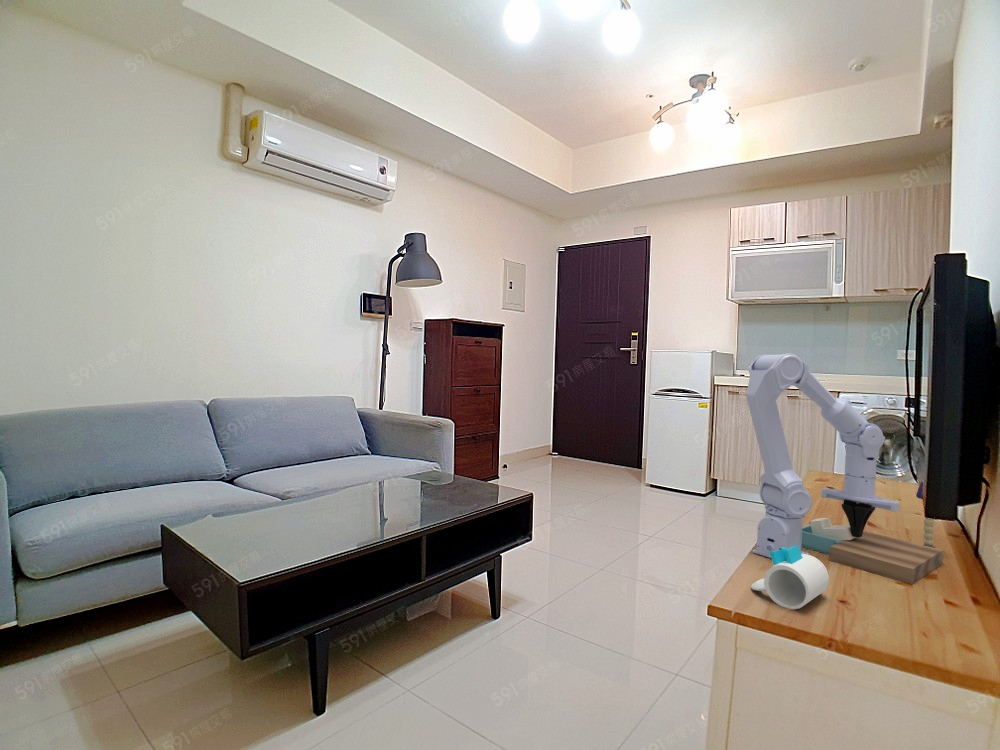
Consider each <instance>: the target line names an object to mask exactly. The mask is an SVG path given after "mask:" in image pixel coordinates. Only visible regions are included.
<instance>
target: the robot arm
mask: <svg viewBox="0 0 1000 750" xmlns="http://www.w3.org/2000/svg"><path fill="white" fill-rule="evenodd" d="M747 370H748V374H749V380H748V384H747V385H748V386H747V389H746V401H747V405H748V409H749V414H750V416H751V420H752V421H751V422H752V425H753V429H754V432H755V436H756V441H757V444H758V449H759V452H760V456H761V459H762V464H763V468H764V473H763V474H761V475H760V476H759V480H760V488H759V497H760V499H761V502H762V503H763V504H764V509H765V515H764V518H762V519H761V520H760V521H759V522H758V525H757V532H756V533H757V537H756V538H757V539H756V548H754V549H752V553H754V554H757V555H760V556H764V557H767V558H768V559H769V558H770V559H772V558H771V556H770V553H769V552H773V551H778V550H781V547H785V548H791V547H793V546H796V545H798V547H799V549H800V552H801V554H807V555H810V553H809V552H806V551H803V550H802V547H801V546H802V527H803V523H804V521H803V519H805V516H806V515H807V514H808V513H809V512H810V510H811V508H812V505H813V504H812V503H813V499H812V496H811V494H810V492H809V491H807V489H806V488H805V486H804V482H803V480H802V479H801V477H800V476H799V475H798V474H797V473H796V472H795V470H794V469H793V464H792V461H791V456H790V452H789V448H788V444H787V441H786V436H785V433H784V428H783V424H782V421H781V420H782V419H781V416H780V413H779V408H778V405H777V400H778V398H779V396H780V395H781V394H782V393H784V392H785V391H786V390H787V389H789V388H791V386H794V387H795V388H797V389H798V390H799V391H800V392H801V393H803V395H805V396H806V397H808V398H809V399H810V400H812V401H811V402H814V403H815V404H816V405H817V406H818V407H819V408H820V409H821V410H820V415H821V417H822V418H823V419H824V420H825V421H826V422H828V423H829V424H830V425H831V426H832V427H833V428H834V429H835V430H836V431H837V432H838V434H839V439H840V441H841V442H842V443H844V444H845V462H844V481H843V483H844V484H843V490H841V489H833V488H827V487H824V488H821V494H820V495H821V496H820V497H821V498H825V499H831V500H837V501H843V502H842V503H841V508H842V510H843V512H844V514H845V516H846V518H847V521H848V523H849V524H848V525H850V528H851V533H852V536H854V537H858V538H859V537H861V536H862V534H863V532H864V529H865V527H866V525H867V523H868V521H869V519H870V517H871V516H872V514H873V513H874V511H875V510H876V508H877V509H881V510H886V511H890V512H894V513H897V512H899V511H900V502H899V501H895V500H892V499H891V500H890V499H888V498H887V499H886V498H883V497H880V496H876V477H877V476H876V475H877V461H878V460H877V459H878V456H879V455H880V450H881V447H882V446H883V444H884V443H885V440H886V436H884V434H883V431H882V429H881V428H880V427H879V426H878V425H877V424H875V423H871V422H869V421H868V420H867V417H866V416H865V415H864V414H860V413H859V411H857V410H856V408H854V407H853V406H852V404H853V403H852V401H851V400H850V399H844V398H841V397H834V395H833V394H832V393H831V392H830V390H828V388H826V387H825V386H824V385H823V383H822V382H821V381H820V380H819V379H818V378H817V377H816V376H815V375H814V374H813V372H811V370H810V368H809V365H808V363H806V362H804V361H803V360H802V358H800V357H799V356H798V355H796V354H794V353H790V352H789V353H783V354H768V353H763V354H760V355H758V356H756V357H755V359H754V360H753V361H752V362H751V364H750V365H749V366H748V367H747Z"/></svg>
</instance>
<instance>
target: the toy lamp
mask: <svg viewBox="0 0 1000 750" xmlns="http://www.w3.org/2000/svg"><path fill="white" fill-rule="evenodd" d="M922 492H923V482H922V480H921V481H920V483H919V486H918V489H917V491H916V494H915V495H916V496H915V497H916V498H918V499H920V500H924V499H923V493H922ZM923 517H924V519H923V524H924V527H923V531H924V533H923V537H924V540H923V545H924V546H929V547H933V548H936V547H935V546H934V545H935V543H934V537H935V536H934V535H935V534H934V532H935V527H934V526H935V520H934V519H928V518H926V517H925V515H924V514H923Z"/></svg>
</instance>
